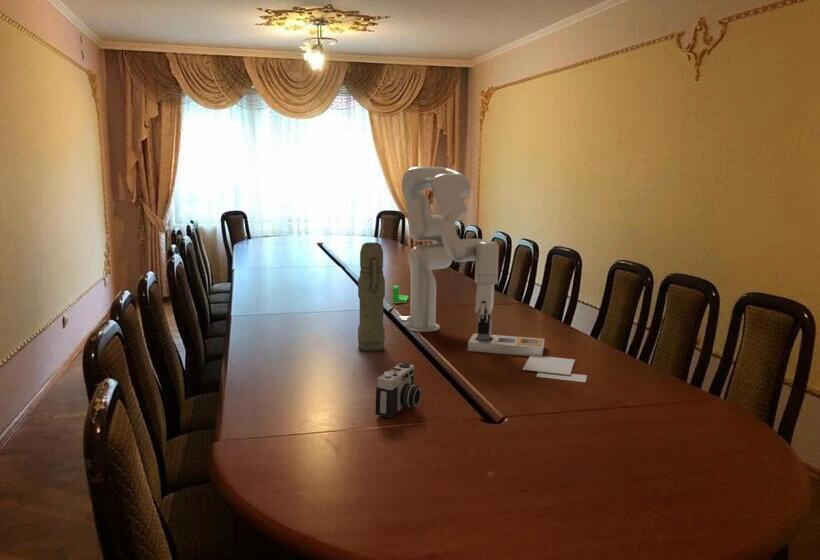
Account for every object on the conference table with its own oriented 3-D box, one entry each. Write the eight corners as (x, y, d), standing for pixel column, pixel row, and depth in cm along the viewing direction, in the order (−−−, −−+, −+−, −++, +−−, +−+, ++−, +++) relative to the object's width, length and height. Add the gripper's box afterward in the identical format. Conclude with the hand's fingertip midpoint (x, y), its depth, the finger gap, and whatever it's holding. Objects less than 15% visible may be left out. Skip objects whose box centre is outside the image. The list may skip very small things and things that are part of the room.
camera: (401, 421, 151) (401, 381, 149) (369, 413, 156) (369, 374, 154) (430, 404, 163) (431, 366, 161) (400, 397, 167) (400, 360, 166)
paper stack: (606, 364, 199) (606, 362, 199) (602, 390, 176) (602, 387, 176) (530, 356, 207) (530, 354, 207) (517, 380, 183) (517, 377, 183)
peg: (477, 348, 215) (478, 319, 213) (479, 345, 219) (479, 316, 217) (489, 349, 214) (490, 320, 212) (490, 346, 218) (491, 317, 216)
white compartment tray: (467, 350, 212) (468, 341, 211) (473, 341, 223) (473, 332, 223) (541, 356, 206) (542, 347, 205) (543, 347, 217) (544, 338, 217)
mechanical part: (406, 304, 285) (406, 287, 284) (393, 304, 285) (393, 286, 284) (408, 299, 297) (408, 282, 295) (395, 299, 297) (395, 282, 296)
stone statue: (378, 342, 221) (379, 240, 215) (389, 351, 210) (390, 244, 204) (353, 344, 218) (353, 241, 212) (363, 353, 207) (363, 245, 201)
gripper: (478, 274, 222) (477, 324, 225) (470, 282, 205) (469, 336, 208) (500, 275, 220) (498, 326, 223) (494, 283, 203) (492, 338, 206)
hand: (484, 330), depth 215 cm, fingers open, 6 cm apart
